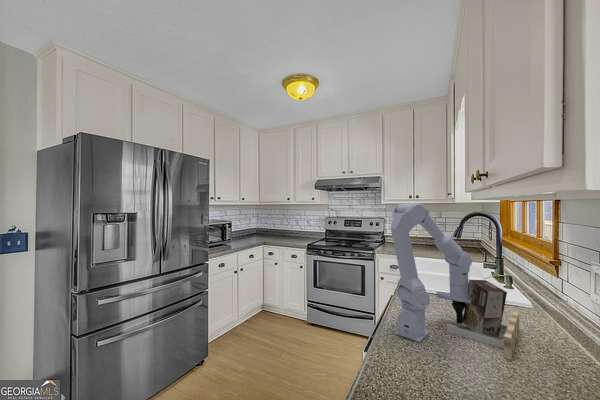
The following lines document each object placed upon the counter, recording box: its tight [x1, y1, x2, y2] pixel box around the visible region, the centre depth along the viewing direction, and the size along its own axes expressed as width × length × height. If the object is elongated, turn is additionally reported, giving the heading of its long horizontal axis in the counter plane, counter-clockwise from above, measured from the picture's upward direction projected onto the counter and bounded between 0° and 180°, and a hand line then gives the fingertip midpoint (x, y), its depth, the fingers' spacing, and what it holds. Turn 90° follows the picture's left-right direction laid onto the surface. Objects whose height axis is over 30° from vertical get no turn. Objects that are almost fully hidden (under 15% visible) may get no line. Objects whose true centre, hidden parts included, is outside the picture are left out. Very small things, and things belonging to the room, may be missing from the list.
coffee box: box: [462, 279, 508, 338], centre depth 85 cm, size 9×6×16 cm
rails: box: [446, 313, 508, 350], centre depth 86 cm, size 13×16×2 cm
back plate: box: [503, 310, 520, 361], centre depth 80 cm, size 24×2×6 cm, turn 135°
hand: (459, 322), depth 90 cm, fingers closed
